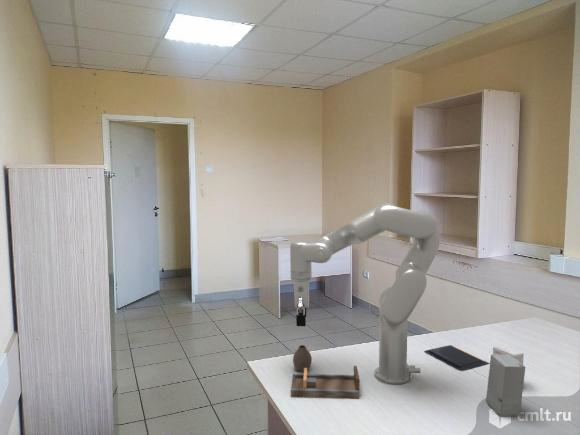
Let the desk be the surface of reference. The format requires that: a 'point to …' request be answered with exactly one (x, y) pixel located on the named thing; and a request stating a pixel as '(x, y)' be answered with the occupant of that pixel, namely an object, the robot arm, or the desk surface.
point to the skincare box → (505, 384)
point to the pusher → (308, 380)
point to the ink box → (508, 352)
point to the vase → (302, 359)
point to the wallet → (456, 358)
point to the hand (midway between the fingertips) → (301, 321)
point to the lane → (327, 386)
